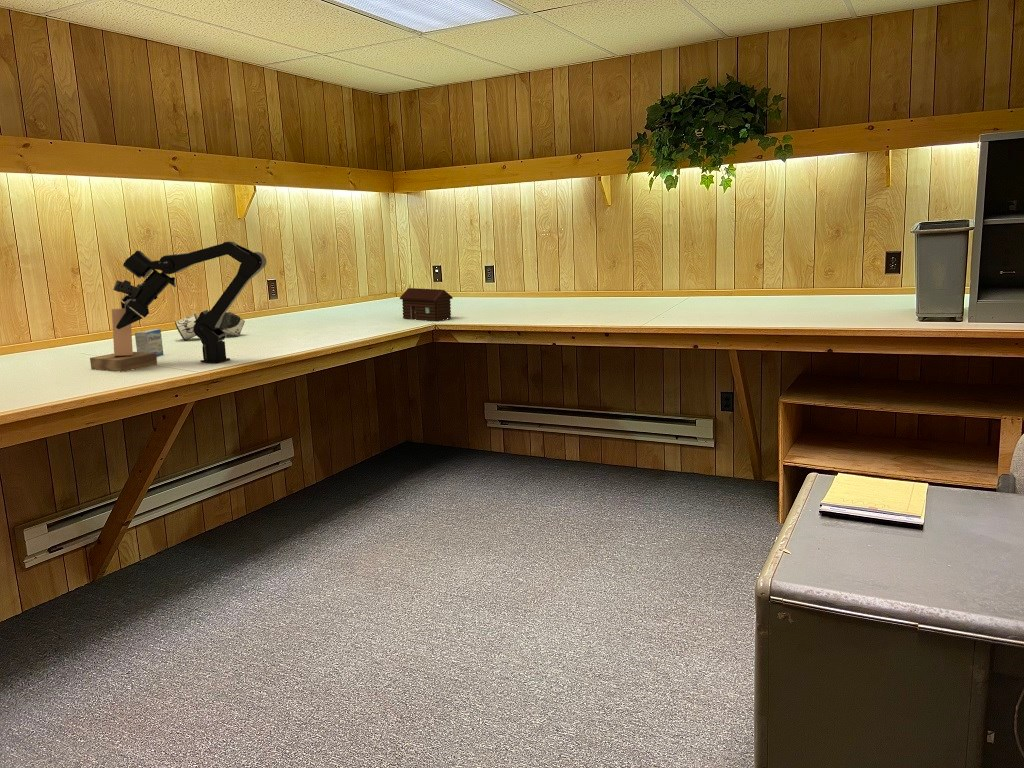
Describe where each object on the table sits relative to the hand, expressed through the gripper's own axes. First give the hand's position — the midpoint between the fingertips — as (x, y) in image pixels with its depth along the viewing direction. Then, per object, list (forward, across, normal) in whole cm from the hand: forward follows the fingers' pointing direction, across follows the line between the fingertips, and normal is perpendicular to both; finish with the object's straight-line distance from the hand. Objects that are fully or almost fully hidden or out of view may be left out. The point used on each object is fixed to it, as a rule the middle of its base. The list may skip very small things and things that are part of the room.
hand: (115, 326), depth 239 cm
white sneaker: (-16, -49, +34) cm, 62 cm away
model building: (-81, -52, +99) cm, 138 cm away
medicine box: (+2, -16, +16) cm, 23 cm away
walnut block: (+8, 0, +10) cm, 13 cm away
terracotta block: (+5, 0, +7) cm, 9 cm away
